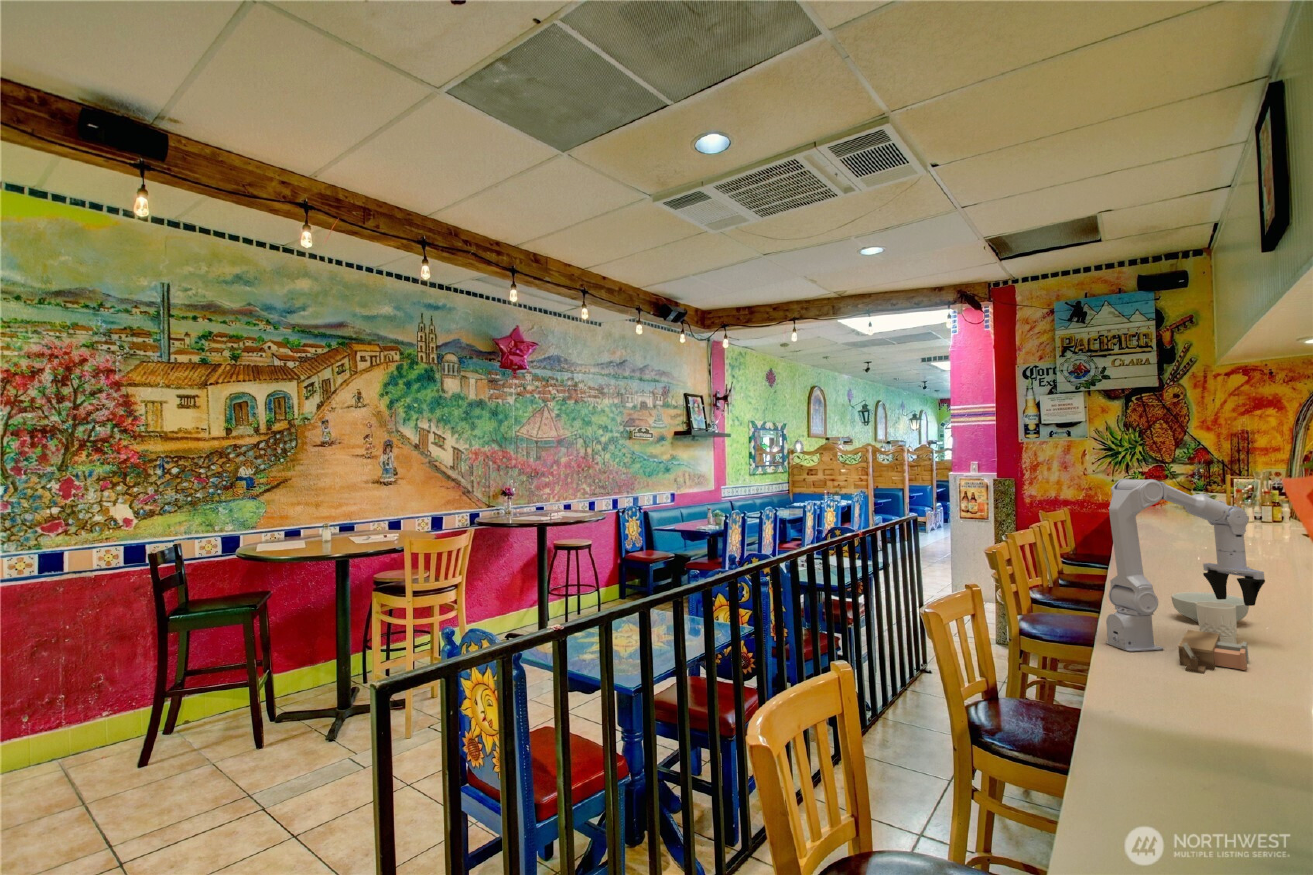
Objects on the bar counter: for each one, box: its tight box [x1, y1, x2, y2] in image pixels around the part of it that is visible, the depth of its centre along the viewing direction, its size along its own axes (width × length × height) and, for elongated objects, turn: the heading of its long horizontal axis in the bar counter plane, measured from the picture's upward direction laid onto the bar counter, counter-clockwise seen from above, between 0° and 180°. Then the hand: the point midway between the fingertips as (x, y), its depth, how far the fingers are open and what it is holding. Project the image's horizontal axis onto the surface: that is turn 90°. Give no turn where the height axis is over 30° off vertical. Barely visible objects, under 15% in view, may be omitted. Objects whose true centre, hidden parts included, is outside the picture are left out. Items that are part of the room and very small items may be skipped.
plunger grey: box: [1217, 641, 1249, 664], centre depth 148 cm, size 7×4×4 cm, turn 43°
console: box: [1178, 629, 1220, 674], centre depth 148 cm, size 6×22×4 cm, turn 133°
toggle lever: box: [1182, 643, 1199, 662], centre depth 143 cm, size 1×2×4 cm, turn 133°
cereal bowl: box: [1171, 591, 1250, 623], centre depth 180 cm, size 17×17×7 cm
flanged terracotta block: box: [1214, 648, 1248, 671], centre depth 144 cm, size 7×4×4 cm, turn 43°
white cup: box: [1196, 601, 1238, 644], centre depth 161 cm, size 8×8×10 cm
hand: (1235, 602), depth 162 cm, fingers open, 7 cm apart
